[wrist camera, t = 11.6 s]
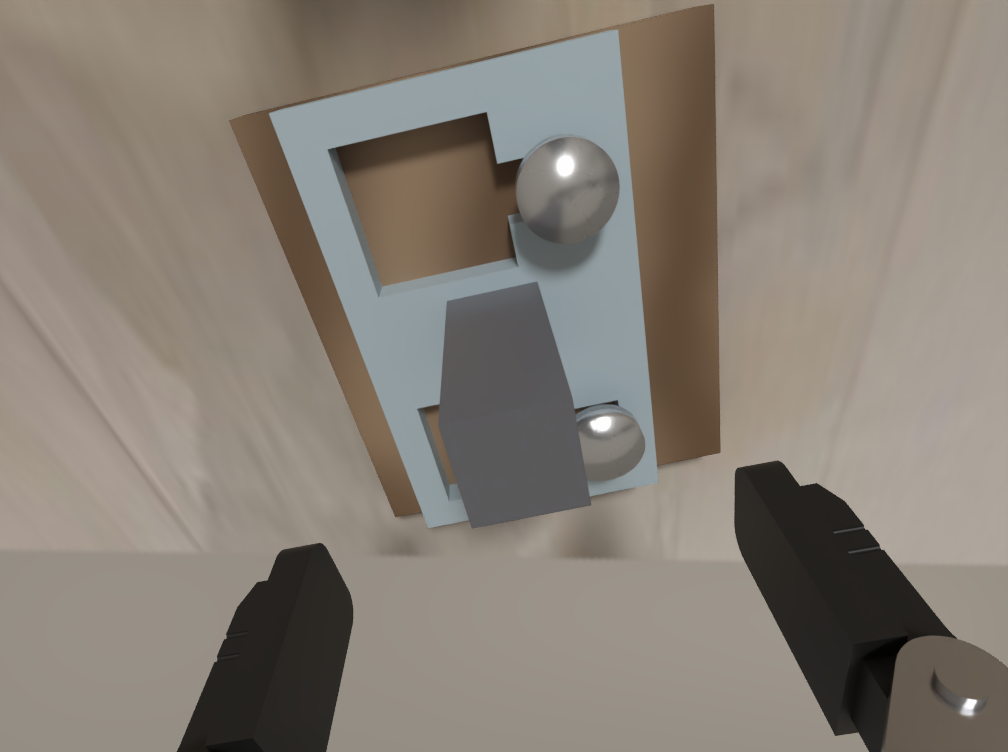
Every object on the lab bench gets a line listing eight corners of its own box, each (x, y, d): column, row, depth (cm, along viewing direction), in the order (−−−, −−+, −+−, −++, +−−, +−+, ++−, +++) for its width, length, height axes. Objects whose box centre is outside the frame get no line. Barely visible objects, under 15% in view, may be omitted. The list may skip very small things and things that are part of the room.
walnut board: (695, 6, 17) (755, -3, 13) (707, 431, 25) (747, 495, 21) (246, 115, 18) (191, 132, 14) (399, 493, 26) (388, 564, 22)
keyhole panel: (609, 30, 16) (721, 20, 9) (651, 467, 24) (727, 638, 17) (279, 109, 16) (143, 158, 9) (429, 511, 24) (415, 695, 18)
